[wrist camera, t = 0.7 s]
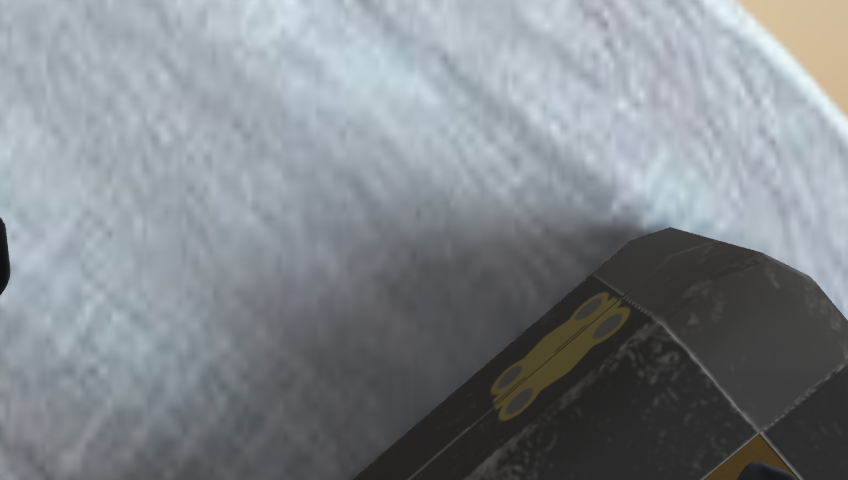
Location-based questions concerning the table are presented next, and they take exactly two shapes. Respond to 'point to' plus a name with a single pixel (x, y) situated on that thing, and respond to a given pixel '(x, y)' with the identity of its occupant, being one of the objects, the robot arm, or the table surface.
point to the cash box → (653, 379)
